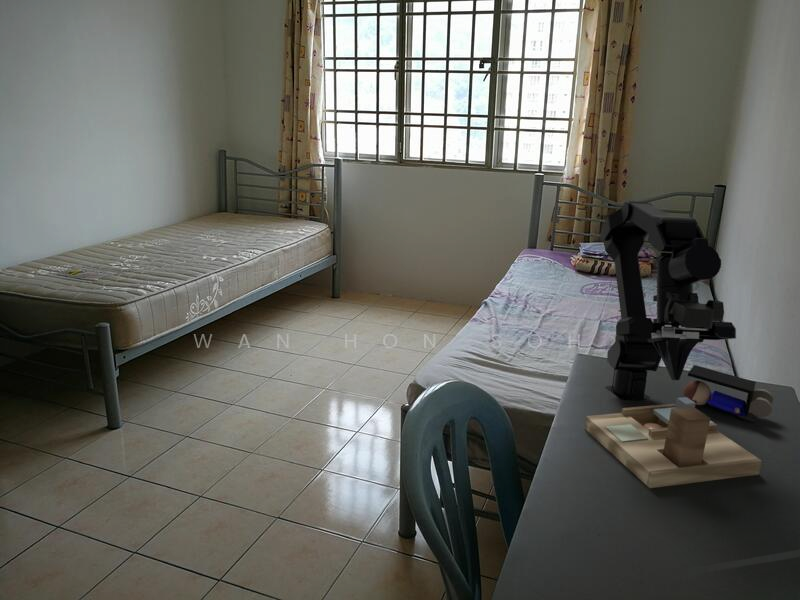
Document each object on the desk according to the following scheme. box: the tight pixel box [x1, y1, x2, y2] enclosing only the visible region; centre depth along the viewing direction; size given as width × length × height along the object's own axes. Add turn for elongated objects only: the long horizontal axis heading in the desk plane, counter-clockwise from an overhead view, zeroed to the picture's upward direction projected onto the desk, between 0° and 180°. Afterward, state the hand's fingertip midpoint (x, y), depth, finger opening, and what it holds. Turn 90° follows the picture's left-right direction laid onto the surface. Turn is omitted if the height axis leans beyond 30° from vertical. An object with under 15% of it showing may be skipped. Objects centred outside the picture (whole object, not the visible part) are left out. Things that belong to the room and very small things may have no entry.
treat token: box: [644, 423, 664, 430], centre depth 113 cm, size 4×4×1 cm
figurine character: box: [683, 364, 774, 423], centre depth 124 cm, size 7×8×15 cm
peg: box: [663, 407, 711, 468], centre depth 100 cm, size 4×4×10 cm
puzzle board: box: [584, 403, 762, 489], centre depth 108 cm, size 19×20×4 cm
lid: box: [653, 396, 715, 424], centre depth 113 cm, size 7×8×4 cm
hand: (675, 380), depth 108 cm, fingers closed
